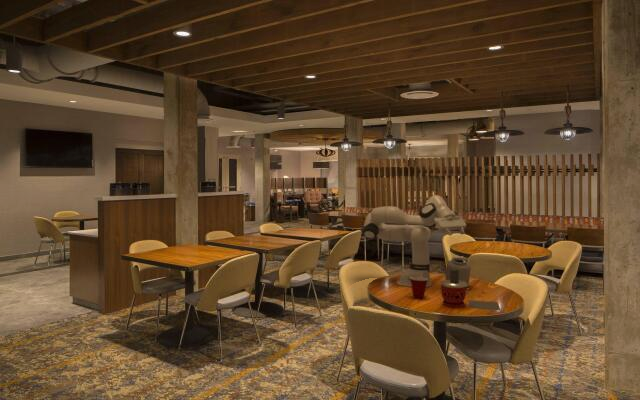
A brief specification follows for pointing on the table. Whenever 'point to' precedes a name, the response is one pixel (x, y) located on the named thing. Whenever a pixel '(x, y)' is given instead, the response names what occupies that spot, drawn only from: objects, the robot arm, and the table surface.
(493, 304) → the mat
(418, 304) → the table surface
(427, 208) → the robot arm
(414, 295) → the plastic cup
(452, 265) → the jar
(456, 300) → the plant pot
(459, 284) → the lid
